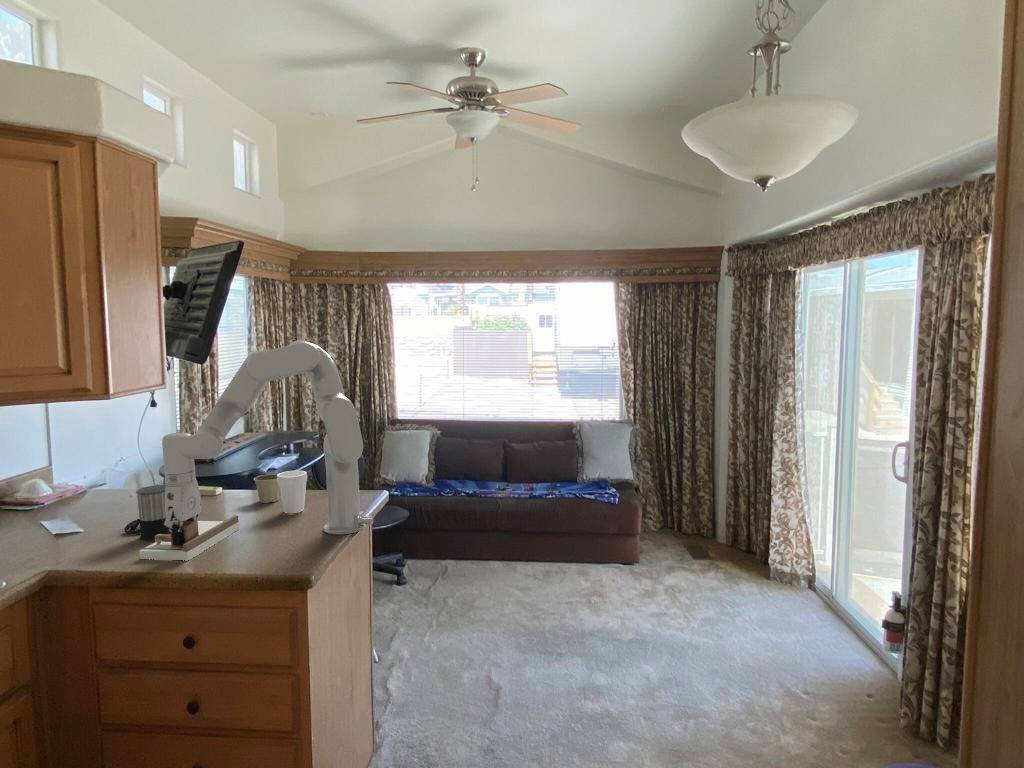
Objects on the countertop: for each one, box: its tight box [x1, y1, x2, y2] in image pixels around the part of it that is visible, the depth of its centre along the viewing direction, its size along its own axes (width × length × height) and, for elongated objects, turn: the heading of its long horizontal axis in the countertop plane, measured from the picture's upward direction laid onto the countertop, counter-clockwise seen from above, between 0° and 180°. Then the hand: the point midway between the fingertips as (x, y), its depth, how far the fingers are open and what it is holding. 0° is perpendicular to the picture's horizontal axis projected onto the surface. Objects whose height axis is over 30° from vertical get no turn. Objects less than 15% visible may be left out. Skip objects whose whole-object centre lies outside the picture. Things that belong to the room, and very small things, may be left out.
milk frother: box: [124, 484, 177, 542], centre depth 199 cm, size 14×16×15 cm
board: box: [139, 514, 240, 562], centre depth 190 cm, size 14×26×4 cm, turn 173°
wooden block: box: [154, 520, 199, 548], centre depth 183 cm, size 11×5×6 cm, turn 83°
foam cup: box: [277, 470, 308, 514], centre depth 220 cm, size 10×9×13 cm
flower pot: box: [253, 473, 280, 504], centre depth 234 cm, size 9×9×9 cm
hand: (185, 540), depth 182 cm, fingers closed on wooden block, 5 cm apart
